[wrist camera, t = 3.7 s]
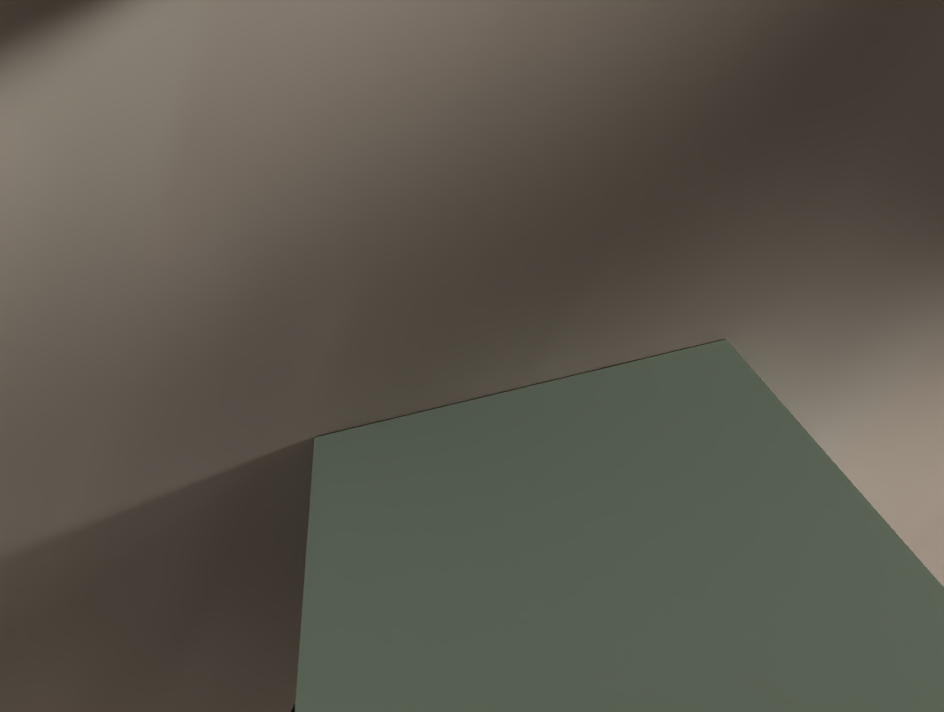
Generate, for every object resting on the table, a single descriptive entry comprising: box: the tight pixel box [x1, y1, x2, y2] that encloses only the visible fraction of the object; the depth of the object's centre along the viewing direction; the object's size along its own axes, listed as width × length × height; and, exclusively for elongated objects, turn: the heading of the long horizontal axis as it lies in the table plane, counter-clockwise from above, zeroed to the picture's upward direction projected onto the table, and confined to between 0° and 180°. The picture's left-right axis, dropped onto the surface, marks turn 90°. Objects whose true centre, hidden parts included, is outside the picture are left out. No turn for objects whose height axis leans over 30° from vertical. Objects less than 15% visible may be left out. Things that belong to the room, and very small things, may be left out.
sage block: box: [295, 339, 944, 712], centre depth 8 cm, size 5×5×5 cm
